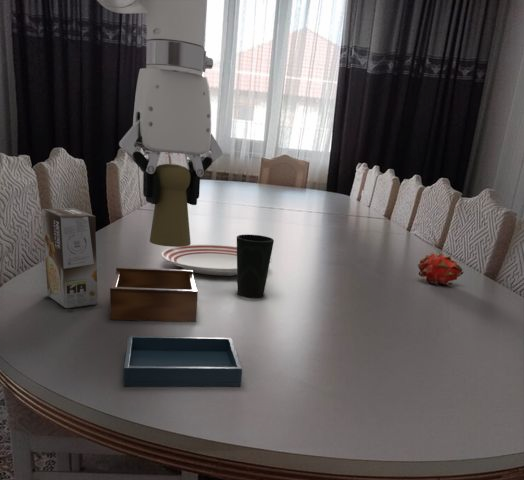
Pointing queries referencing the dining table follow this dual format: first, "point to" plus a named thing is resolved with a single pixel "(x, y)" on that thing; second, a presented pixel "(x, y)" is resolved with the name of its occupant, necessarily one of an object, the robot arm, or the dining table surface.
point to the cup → (253, 264)
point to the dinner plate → (204, 259)
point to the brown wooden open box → (153, 295)
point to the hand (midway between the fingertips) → (171, 201)
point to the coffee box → (70, 256)
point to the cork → (171, 207)
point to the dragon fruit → (439, 269)
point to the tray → (181, 362)
